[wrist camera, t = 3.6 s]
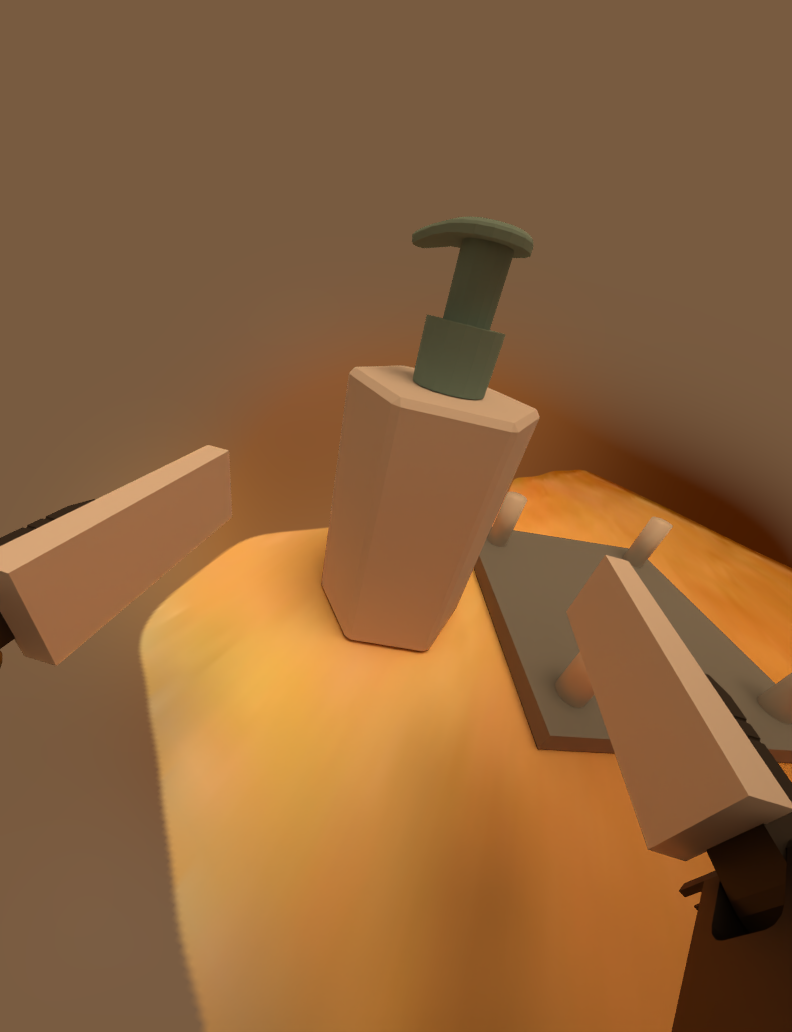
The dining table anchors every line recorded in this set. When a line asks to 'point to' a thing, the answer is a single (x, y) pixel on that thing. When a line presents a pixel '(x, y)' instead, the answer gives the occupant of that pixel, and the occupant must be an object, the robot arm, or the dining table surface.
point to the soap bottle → (427, 455)
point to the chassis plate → (553, 648)
